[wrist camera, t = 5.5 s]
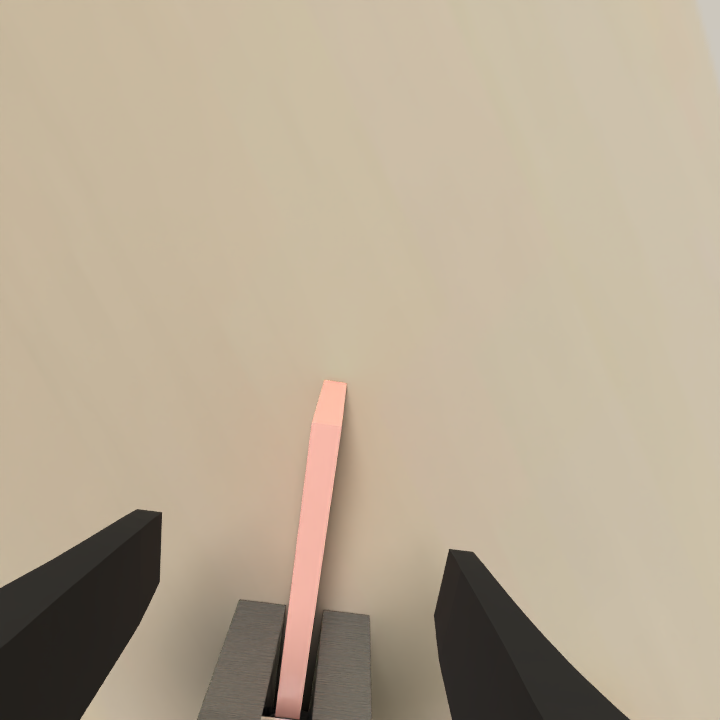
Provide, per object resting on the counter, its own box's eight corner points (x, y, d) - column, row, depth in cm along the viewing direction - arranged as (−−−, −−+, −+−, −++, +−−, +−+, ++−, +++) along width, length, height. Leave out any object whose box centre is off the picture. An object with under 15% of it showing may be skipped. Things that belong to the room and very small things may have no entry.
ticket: (293, 617, 22) (275, 716, 17) (324, 379, 19) (311, 422, 14) (312, 620, 22) (299, 719, 17) (346, 383, 19) (341, 426, 14)
